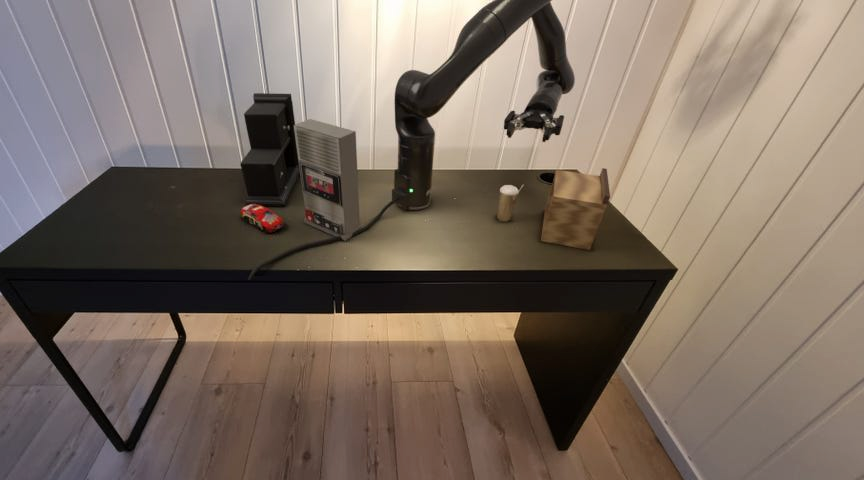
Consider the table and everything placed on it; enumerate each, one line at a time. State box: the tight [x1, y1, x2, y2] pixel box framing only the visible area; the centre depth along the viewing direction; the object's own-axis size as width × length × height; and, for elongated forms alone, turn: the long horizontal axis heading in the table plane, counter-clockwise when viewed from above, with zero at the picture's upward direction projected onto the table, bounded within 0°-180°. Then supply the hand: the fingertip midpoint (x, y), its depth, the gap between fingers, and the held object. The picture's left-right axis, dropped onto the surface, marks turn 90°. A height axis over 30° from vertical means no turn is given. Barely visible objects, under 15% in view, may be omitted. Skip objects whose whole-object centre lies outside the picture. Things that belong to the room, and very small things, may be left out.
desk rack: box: [540, 167, 611, 251], centre depth 98 cm, size 11×15×14 cm
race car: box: [240, 204, 285, 234], centre depth 103 cm, size 13×5×4 cm, turn 49°
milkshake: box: [496, 184, 524, 223], centre depth 103 cm, size 5×5×10 cm
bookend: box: [239, 92, 300, 207], centre depth 113 cm, size 23×11×24 cm, turn 178°
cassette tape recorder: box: [294, 118, 362, 242], centre depth 95 cm, size 14×6×25 cm, turn 53°
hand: (526, 136), depth 102 cm, fingers open, 8 cm apart
